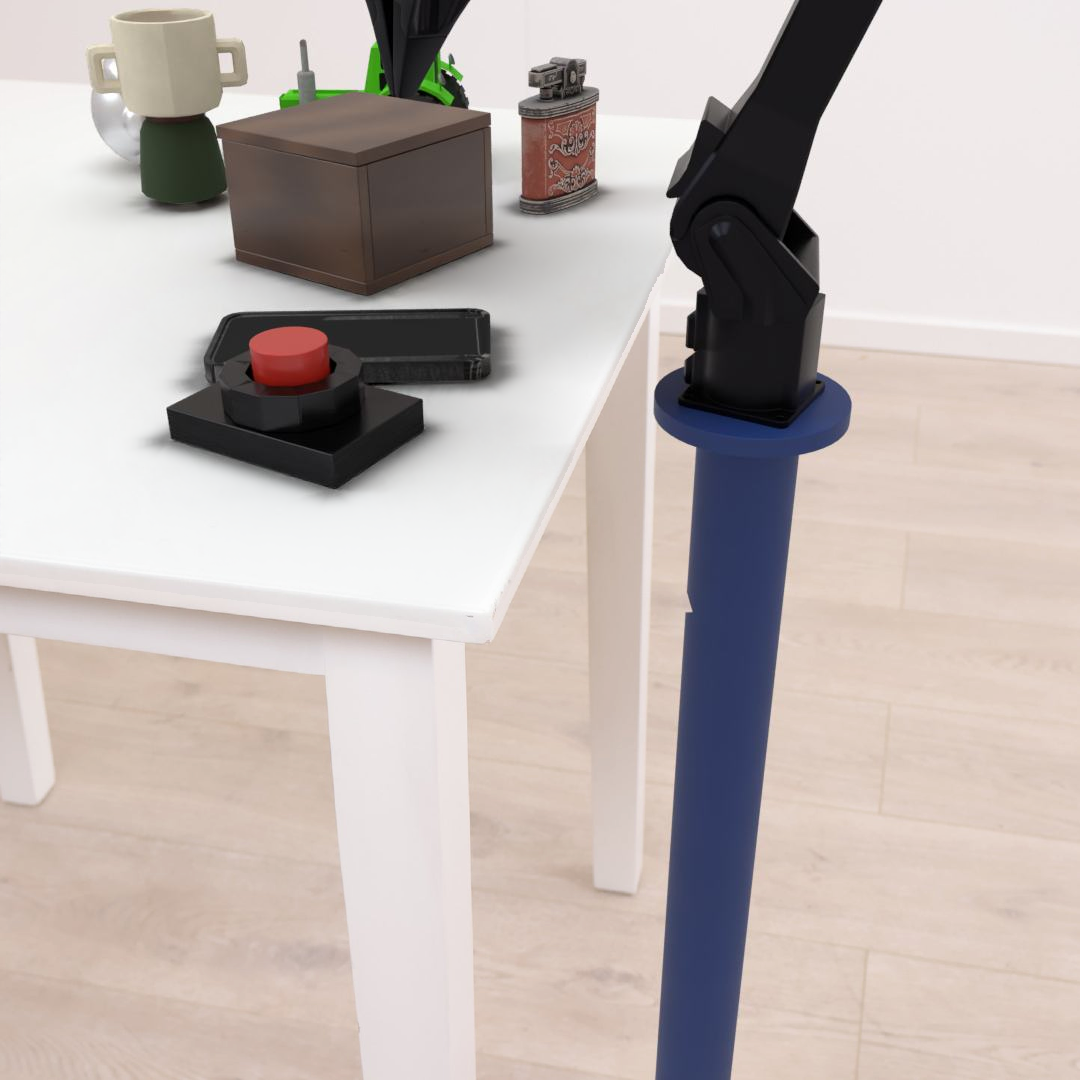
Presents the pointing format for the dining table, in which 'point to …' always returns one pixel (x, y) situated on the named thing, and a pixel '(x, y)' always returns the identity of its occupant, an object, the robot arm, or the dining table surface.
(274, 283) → the dining table surface
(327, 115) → the lid
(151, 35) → the cream and green trophy
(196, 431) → the button base
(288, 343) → the button
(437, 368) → the phone
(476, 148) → the chest
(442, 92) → the toy tractor
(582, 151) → the lighter
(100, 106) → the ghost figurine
